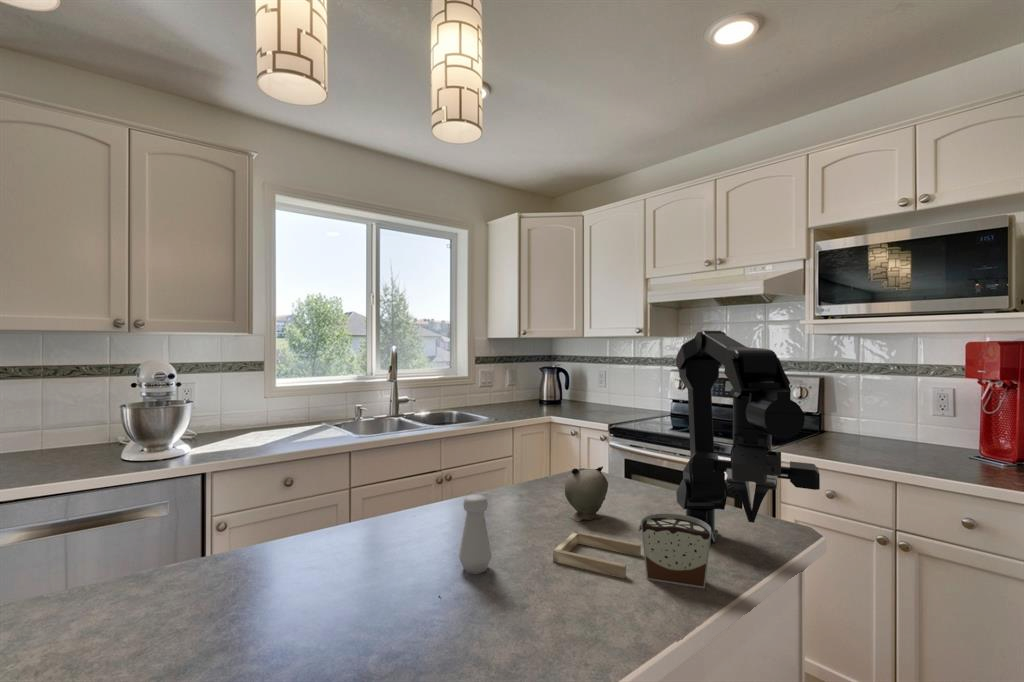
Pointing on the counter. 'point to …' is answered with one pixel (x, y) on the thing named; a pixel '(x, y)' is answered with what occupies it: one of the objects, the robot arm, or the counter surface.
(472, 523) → the salt shaker
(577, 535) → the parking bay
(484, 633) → the counter surface
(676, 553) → the food container
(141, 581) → the counter surface
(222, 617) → the counter surface
